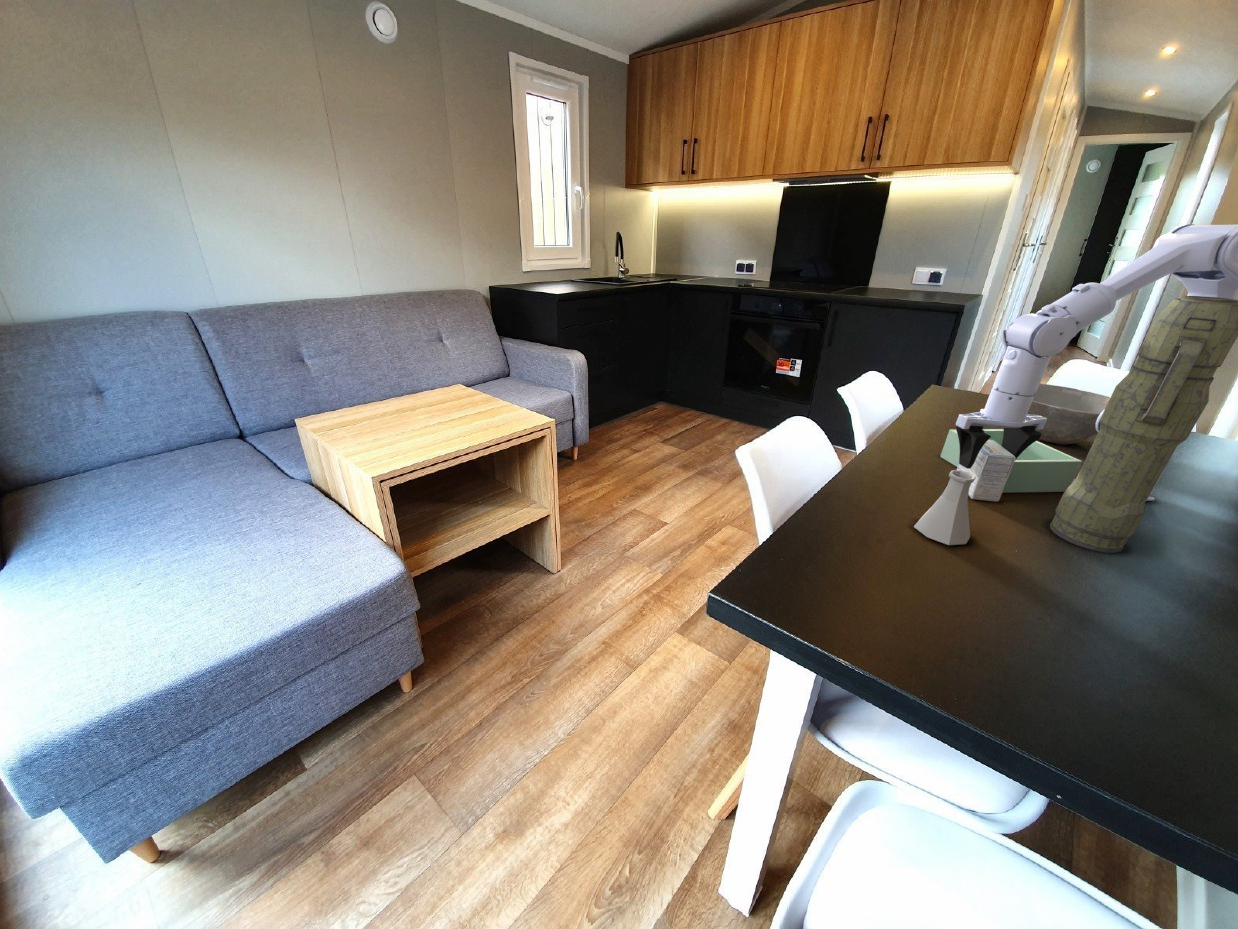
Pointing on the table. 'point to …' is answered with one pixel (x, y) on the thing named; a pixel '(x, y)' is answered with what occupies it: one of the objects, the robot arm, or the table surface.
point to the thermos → (1147, 422)
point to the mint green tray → (1026, 465)
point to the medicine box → (990, 472)
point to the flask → (949, 512)
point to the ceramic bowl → (1067, 413)
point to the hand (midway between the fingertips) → (983, 466)
